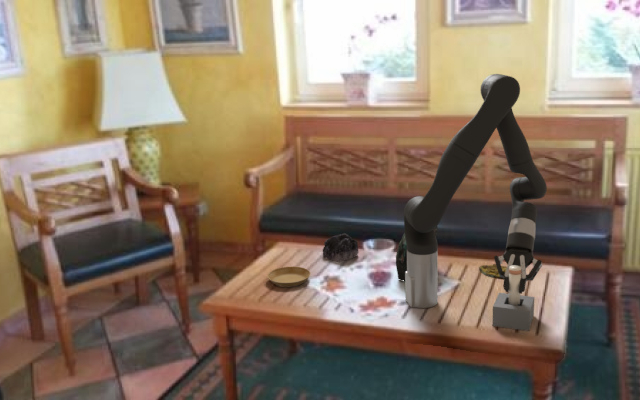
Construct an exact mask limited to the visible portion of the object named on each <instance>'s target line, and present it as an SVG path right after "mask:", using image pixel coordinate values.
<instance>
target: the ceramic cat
mask: <svg viewBox="0 0 640 400" xmlns="http://www.w3.org/2000/svg"><path fill="white" fill-rule="evenodd" d="M438 232H439V230H438V226H437V227H436V228H435V229H434V233H435V237H437V235H438ZM395 266H396V267H395V268H396V272H397V279H401V280H404V281H405V272H406V271H407V244H406V240H405V232H404V233H403V234H402V237H401V240H400V242H399V243H398V246H397V250H396V255H395Z"/></svg>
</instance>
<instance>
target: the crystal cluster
mask: <svg viewBox="0 0 640 400" xmlns="http://www.w3.org/2000/svg"><path fill="white" fill-rule="evenodd" d="M358 244H359V242H358V241H357V240H356V239H354V238H353V237H351V236H350V235H349V234H347V233H345V232H343V233H341V234H337V235H334V236H331V237H330V238H327V239H326V240H325V241H324V243H323V245H324V246H323V248H322V256H323V257H324V258H326V259H328V260H330V261H331V260H332V261H335V262H342V261H344V262H345V261H347V260H351V259H354V258H355V257H357V256H358V255H359V245H358Z"/></svg>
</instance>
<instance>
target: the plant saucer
mask: <svg viewBox="0 0 640 400" xmlns="http://www.w3.org/2000/svg"><path fill="white" fill-rule="evenodd" d="M310 276H311V271H310V270H309V269H307V268H305V267H301V266H284V267H283V266H282V267H279V268H275V269H273V270H271V271H269V272H268V274H267V279H268V280H269V281H270V282H271V283H272V284H274V285H275V286H277V287H280V288H281V287H283V288H293V287H297V286H300V285H302V284H304V283H305V282H306V281H307V280H308V279H309V278H310Z"/></svg>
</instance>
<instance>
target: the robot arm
mask: <svg viewBox="0 0 640 400" xmlns="http://www.w3.org/2000/svg"><path fill="white" fill-rule="evenodd" d="M520 93H521V86H520V83H519V81H518V80H517V79H516V78H515V77H513V76H510V75H505V74H501V73H500V74H499V73H493V74H490V75H488V76H486V77H485V78H484V79H483V81H482V82H481V85H480V95H481V98H482V99H483V103H482V104H481V106H480V108H479V109H478V110H477V112H476V114H475V115H474V116H473V117H472V118H471V119H470V120H469V121H468V122H467V123H466V124H465V125H464V126H463V127H461V128H460V129H459V130H458V132H457V133H456V134H455V135H454V136H453V137H452V138H451V140H450V142H449V143H448V145H446V148H445V149H444V151H443V153H442V155H441V158H440V159H439V162H438V166H437V169H436V173H435V176H434V180H433V182H432V184H431V185H430V188H429V189H428V191H427V192H426V194H425V195H424V196H421V195H418V196H414V197H412V198H411V199H409V200H408V201H407V203H406V204H405V206H404V210H403V223H404V224H403V225H404V226H403V227H404V233H405V240H406V244H407V271H406V272H405V282H404V283H405V284H404V285H405V288H404V289H405V301H406V303H407V304H408V305H409V306H410V307H411V308H419V309H423V308H424V309H428V308H433V307H434V306H436V305H437V304H438V299H439V297H438V296H439V295H438V293H439V292H438V284H439V283H438V274H439V273H438V268H439V267H438V262H439V260H438V255H439V254H438V253H439V251H438V240H437V238H436V237H437V236H436V237H435V233H434V229H435V228H436V227H437V228H438V225H439V224H440V222H441V221H442V219H443V217H444V215H445V212H446V211H447V208H448V206H450V205H449V204H450V203H451V201H452V199H453V197H454V195H455V193H456V192H457V191H458V190H459V188H460V186H461V185H462V183H463V182H464V180H465V179H466V177H467V175H468V173H469V172H470V170H472V168H473V166H474V164H475V163H476V161H477V160H478V158H479V157H480V154H481V153H482V152H483V151H484V149H485V146H486V145H487V143H488V142H489V140H490V139H491V138H492V136H493V134H494V132H495V131H496V130H497V133H498V136H499V139H500V141H501V145H502V148H503V151H504V154H505V155H504V156H505V158H506V162H507V165H508V168H509V171H510V172H512V173H514V174H520V175H523V176H522V177H521V176H520V177H515V178H514V179H513V180H511V182H510V185H509V192H510V198H511V207H512V208H511V211H512V212H511V219H510V224H509V227H508V232H507V240H506V245H505V246H506V247H505V251H504V253H503V254H502V255H500V256H498V255H494V256H493V259H494V264H496V266H497V269H498V273H499V276H500V277H503V278H504V279H503V285H502V286H503V290H504V291H505V293H509V267H510V266H512V265H517V266H520V267H521V276H522V277H521V279H520V286H519V293H520V295H522V294H523V293H525V291H526V285H527V282H529V281H531V282H532V281H534V279H535V278H536V276H537V274H538V273H539V271H540V269H541V268H542V267H543V262H542V260H541V259H536V258H534V248H535V247H534V245H535V239H536V223H537V215H538V209H537V207H536V205H535V204H534V203H533V204H532V203H531V202H526V201H529V200H538V199H542V198H544V196H546V193H547V187H548V186H547V182H546V180H545V178H544V176H543V175H542V173H541V172H540V171H539V169H538V168H537V166H536V164H535V163H534V161H533V158H532V154H531V149H530V147H529V144H528V141H527V139H526V137H525V134H524V132H523V130H522V128H521V127H520V125H519V124H518V121H517V119H516V117H515V115H514V111H513V107H514V106H515V105H516V103H517V101H518V100H519V98H520ZM503 261H505V263H506V265H507V266H506V267H507V269H506V272H503V271H502V268H501V266H502V264H503ZM531 264H532V268H531V270H530V271H529V273H528V274H527V268H528V267H529V266H531Z"/></svg>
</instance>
